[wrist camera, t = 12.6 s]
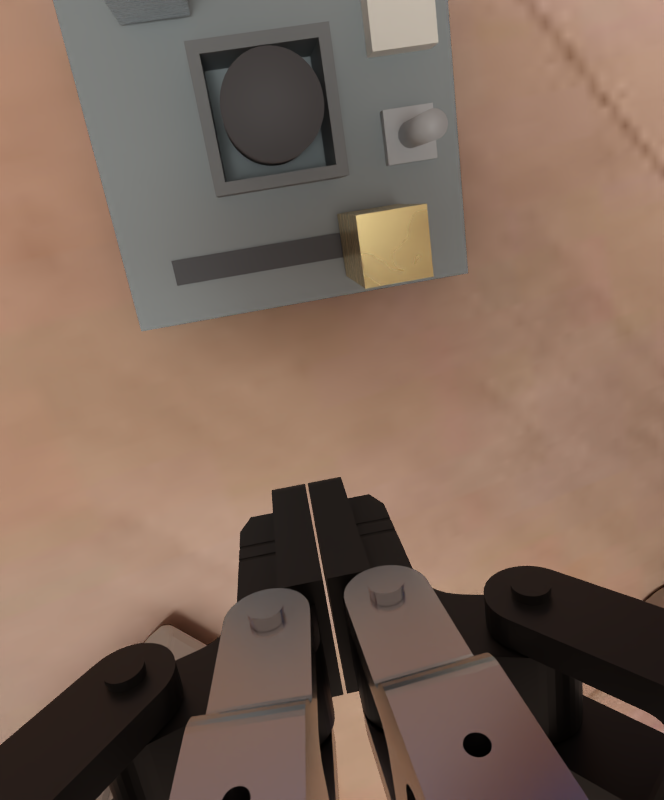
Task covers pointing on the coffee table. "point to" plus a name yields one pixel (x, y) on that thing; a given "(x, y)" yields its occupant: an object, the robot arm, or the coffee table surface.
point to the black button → (271, 105)
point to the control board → (251, 182)
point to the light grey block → (147, 10)
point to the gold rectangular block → (386, 244)
